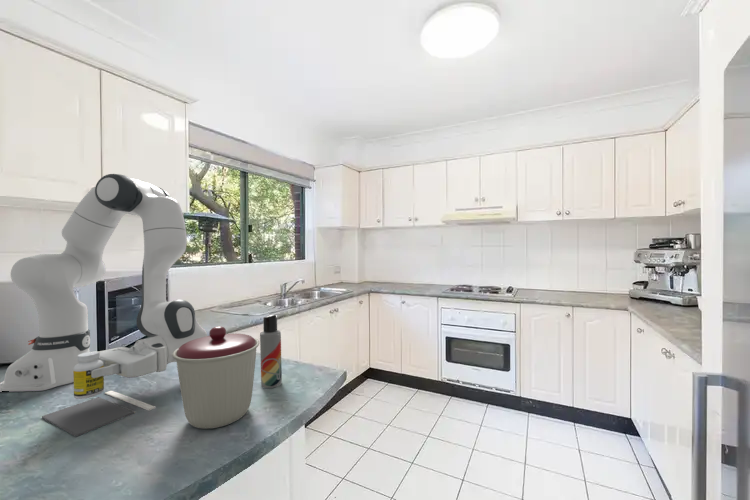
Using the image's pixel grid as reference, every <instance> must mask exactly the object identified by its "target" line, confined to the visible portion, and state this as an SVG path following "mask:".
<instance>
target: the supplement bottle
mask: <svg viewBox="0 0 750 500" xmlns="http://www.w3.org/2000/svg"><path fill="white" fill-rule="evenodd" d="M99 358H100V352H99V351H98V350H97V351H96V350H95V351H90V352H86V353H82V354H79V355H78V356H77V361H78V362H79V364H77V365H75V367H74V370H73V373H74V382H73V397H74V398H75V399H77V400H83V399H90V398H93V397H95V396H98V395H100V394H102V393H103V392H104V389H105V382H104V381H105V379H104V378H105V376H100V377H97V378H92V377H90V370H92V369H95V368H102V367H104V365H103V361H101V360H98V359H99Z"/></svg>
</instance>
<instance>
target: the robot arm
mask: <svg viewBox="0 0 750 500" xmlns="http://www.w3.org/2000/svg"><path fill="white" fill-rule="evenodd" d="M127 214H128V215H131V216H138V217H140V218H141V220H142V229H143V230H142V231H143V259H142V271H141V272H142V273H141V305H140V309H139V311H138V314H137V316H136V326H137V329H138V330H139V332H140V333H141V334H142V335H144V336H145V337H147V338H142V339H139V340H137V341H135V343H134V345H132V346H131V347H124V346H121V347H120V346H119V347H115V348H109V349H105V350H104V349H103V350H100V351H99V352H100V358H99V359H98V360H101V361H103V365H104V367H102V368H95V369H92V370H90V377H92V378H97V377H100V376H104V377H105V376H112V375H118V376H121V377H124V378H127V379H130V378H131V379H133V378H138V377H142V376H145V375H150V374H153V373H161V372H165V371H166V370H167V366H168V364H171V363H177V361H176V359H174V358H173V356H172V354H173V352H174V351H175V350H176V349H178V348H179V347H181V346H182V345H183V344H185V343H187V342H189V341H191V340H194V339H198V338H202V337H206V336H208V333H207V331H206V329H205V328H204V327H202V325H200V323H199V321H198V320H197V317H196V311H195V308H194V306H193V305H192V304H191V303H190V302H189V301H187V300H184V299H175V300H170V301H167V275H168V273H169V270H170V269H171V268H172V266H173V265H175V263H177V262H178V260H179V259H180V258H182V256H184V254H185V253H186V251H187V243H188V235H187V229H186V223H185V217H184V215H183V210H182V207H181V205H180V203H179V202H178V201H177V199H174V198H173V197H171V195H170V194H169V193H168V192H167V191H166V190H164V189H163V188H161V187H159V186H156V185H154V184H151V183H149V182H147V181H145V180H141V179H137V178H133V177H129V176H127V175H125V174H120V173H110V174H105V175H103V176H102V177H101V178H100V179H98V181H97V183H96V184H95V186H94V187H92V188H91V189H90V191H88V192H87V193H86V194H85V196H83V197H82V199H81V200H80V201H79V202H78V204H77V205H76V207H75V209H74V210H73V211H72V213H71V215H70V217H69V218H68V220H67V222H66V223H65V224H64V226H63V228H62V230H61V236H62V238H63V239H64V240H65V242H66V246H65V248H64V251H63V252H61V253H52V254H51V253H46V254H45V253H43V254H36V255H31V256H27V257H23V258H20V259H19V260H17V261H16V262H15V263H14V264H13V265H12V267H11V269H10V278H11V281H12V284H14V286H15V287H16V288H18V289H20V290H21V291H23V292H25V293H26V294H27V295H28V296H29V297H30V298H31V300H32V302H33V303H34V306H35V308H36V312H37V320H38V336H36V337H35V338H34V339H31V340H28V341H27V345H28V346H29V345H33V346H32V348H31V350H29V351H28V352H27V353H25V354H24V355H22V356H21V357H19V358H18V359H17V360H15V361H14V362H12V363H11V364H10V365H9V366H8V367H7V368H6V371H5V374H4V380H3V381H1V382H0V393H3V392H2V391H9V393H10V392H32V391H33V392H35V391H36V392H37V391H46V390H49V389H53V388H56V387H59V386H64V385H68V384H72V383H74V373H73V370H74V367H75V365H77V364H79V362H78V361H77V356H78V355H79V354H82V353H86V352H91V350H90V346H91V330H90V329H89V316H88V314H89V312H88V306H87V304H86V303H84V302H83V301H80V300H79V299H78V297H77V295H76V293H75V290H74V288H81V287H86V286H89V285H90V286H91V285H92V284H95V283H97V282H99V281H100V280H102V279H103V278H104V277H105V274H106V269H107V267H106V265H105V263H104V261H103V254H104V250H105V247H106V245H107V244H108V242H109V240H110V239H111V236H113V234H114V232H115V230H116V229H117V226H118V225H119V223H120V221H121V220H122V218H123V217H124V216H125V215H127ZM28 342H29V343H28Z"/></svg>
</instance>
